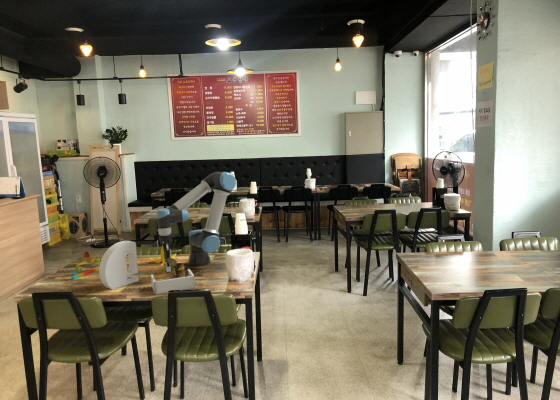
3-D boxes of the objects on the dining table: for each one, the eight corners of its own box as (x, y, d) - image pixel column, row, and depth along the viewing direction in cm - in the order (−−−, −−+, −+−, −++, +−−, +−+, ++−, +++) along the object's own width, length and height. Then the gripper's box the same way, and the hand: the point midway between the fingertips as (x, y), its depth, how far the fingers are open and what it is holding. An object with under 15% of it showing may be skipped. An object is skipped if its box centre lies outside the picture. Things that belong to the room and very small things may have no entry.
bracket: (139, 281, 258) (135, 240, 255) (107, 291, 242) (103, 248, 239) (132, 279, 263) (129, 239, 259) (100, 288, 246) (96, 246, 243)
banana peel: (176, 258, 308) (175, 235, 306) (169, 265, 289) (167, 241, 287) (154, 258, 308) (152, 236, 306) (145, 266, 290) (143, 242, 287)
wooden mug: (164, 287, 245) (162, 257, 242) (176, 279, 258) (174, 250, 255) (178, 288, 242) (175, 257, 240) (189, 280, 255) (187, 251, 253)
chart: (106, 265, 295) (104, 244, 293) (110, 266, 294) (108, 245, 292) (70, 279, 267) (68, 256, 265) (74, 280, 266) (71, 256, 264)
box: (190, 280, 256) (189, 269, 255) (195, 287, 242) (194, 276, 241) (151, 286, 247) (150, 274, 246) (154, 294, 233) (153, 282, 232)
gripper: (157, 233, 265) (161, 269, 268) (160, 237, 253) (163, 275, 256) (169, 231, 268) (173, 267, 271) (173, 235, 256) (176, 273, 259)
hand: (168, 271), depth 264 cm, fingers closed
